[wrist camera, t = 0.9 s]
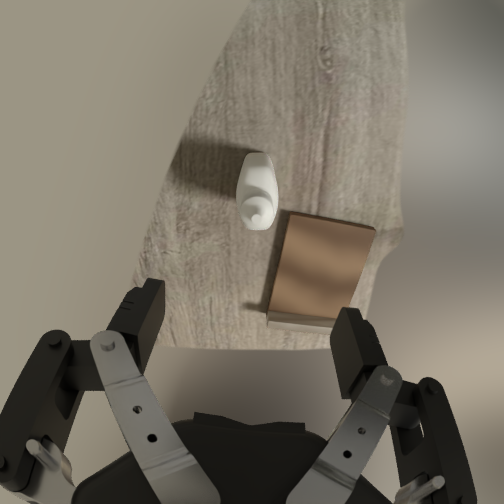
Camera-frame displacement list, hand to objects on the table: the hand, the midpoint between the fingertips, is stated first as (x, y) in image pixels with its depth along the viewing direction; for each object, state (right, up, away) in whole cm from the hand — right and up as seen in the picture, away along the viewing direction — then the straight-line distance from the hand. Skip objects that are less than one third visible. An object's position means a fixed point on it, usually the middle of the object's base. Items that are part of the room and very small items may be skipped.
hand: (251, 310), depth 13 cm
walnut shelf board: (+8, 0, +23) cm, 24 cm away
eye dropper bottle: (+1, +10, +18) cm, 21 cm away
